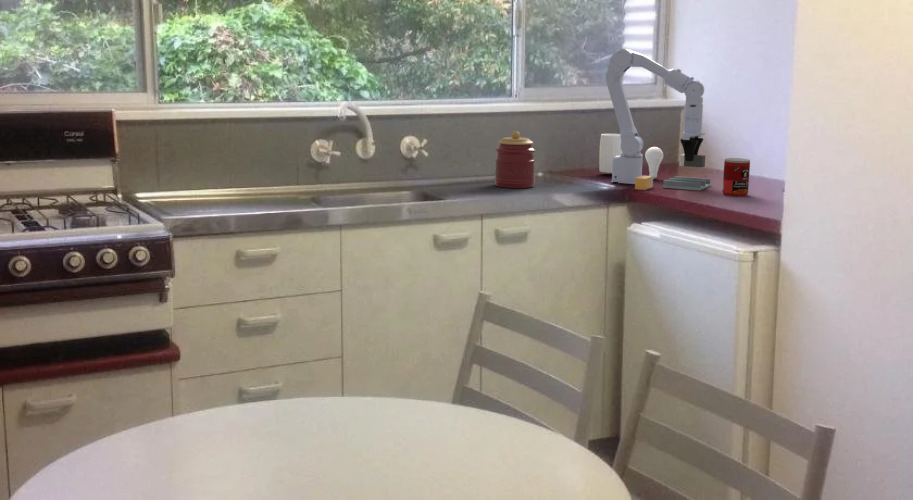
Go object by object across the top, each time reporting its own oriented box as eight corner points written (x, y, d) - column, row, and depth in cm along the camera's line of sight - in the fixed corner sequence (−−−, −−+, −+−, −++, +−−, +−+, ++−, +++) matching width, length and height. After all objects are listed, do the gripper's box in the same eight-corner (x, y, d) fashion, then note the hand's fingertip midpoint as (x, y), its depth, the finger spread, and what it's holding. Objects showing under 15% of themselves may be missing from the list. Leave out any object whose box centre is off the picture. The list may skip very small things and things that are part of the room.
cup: (624, 176, 378) (625, 135, 375) (599, 176, 378) (601, 135, 375) (620, 173, 386) (622, 133, 383) (597, 173, 386) (598, 133, 383)
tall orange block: (645, 190, 345) (645, 178, 344) (634, 189, 346) (635, 177, 346) (652, 187, 351) (653, 176, 351) (642, 186, 353) (642, 175, 352)
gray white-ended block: (704, 166, 354) (705, 155, 353) (701, 167, 351) (702, 156, 350) (682, 164, 357) (682, 154, 357) (679, 165, 354) (679, 154, 354)
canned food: (734, 197, 331) (736, 161, 329) (716, 193, 338) (719, 158, 336) (753, 195, 335) (755, 160, 333) (735, 192, 342) (738, 157, 340)
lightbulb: (664, 178, 374) (666, 146, 372) (658, 180, 369) (659, 148, 367) (648, 177, 377) (649, 145, 375) (641, 178, 372) (642, 146, 370)
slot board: (663, 187, 350) (663, 180, 350) (674, 183, 361) (674, 176, 361) (699, 190, 345) (700, 183, 344) (710, 186, 356) (710, 178, 355)
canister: (513, 182, 358) (514, 128, 355) (543, 186, 349) (544, 131, 346) (486, 185, 349) (487, 130, 346) (515, 189, 340) (517, 133, 337)
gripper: (699, 120, 343) (696, 163, 346) (711, 117, 356) (708, 159, 358) (677, 119, 347) (675, 161, 349) (690, 117, 359) (687, 157, 362)
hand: (690, 160), depth 354 cm, fingers closed on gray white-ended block, 3 cm apart
